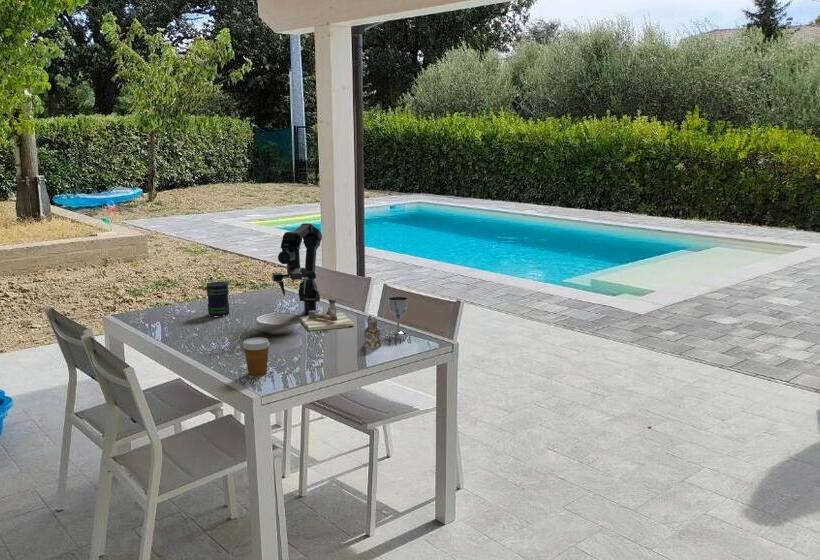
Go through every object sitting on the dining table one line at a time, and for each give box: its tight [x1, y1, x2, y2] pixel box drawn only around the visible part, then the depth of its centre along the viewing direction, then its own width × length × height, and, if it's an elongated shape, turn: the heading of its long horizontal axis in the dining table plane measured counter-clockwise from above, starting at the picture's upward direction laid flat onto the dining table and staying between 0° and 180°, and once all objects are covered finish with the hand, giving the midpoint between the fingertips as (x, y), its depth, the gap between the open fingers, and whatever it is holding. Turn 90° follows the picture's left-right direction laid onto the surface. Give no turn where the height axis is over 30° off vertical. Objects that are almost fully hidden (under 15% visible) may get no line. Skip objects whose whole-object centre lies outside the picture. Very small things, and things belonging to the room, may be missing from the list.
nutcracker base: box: [299, 306, 355, 331], centre depth 338 cm, size 20×20×6 cm
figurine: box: [362, 315, 382, 349], centre depth 301 cm, size 7×7×12 cm
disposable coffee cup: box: [242, 337, 271, 377], centre depth 268 cm, size 10×10×12 cm
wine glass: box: [388, 295, 408, 335], centre depth 320 cm, size 8×8×15 cm
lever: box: [308, 298, 337, 321], centre depth 337 cm, size 16×4×10 cm, turn 50°
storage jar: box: [206, 281, 230, 316], centre depth 354 cm, size 10×10×15 cm
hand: (294, 294), depth 336 cm, fingers open, 9 cm apart
